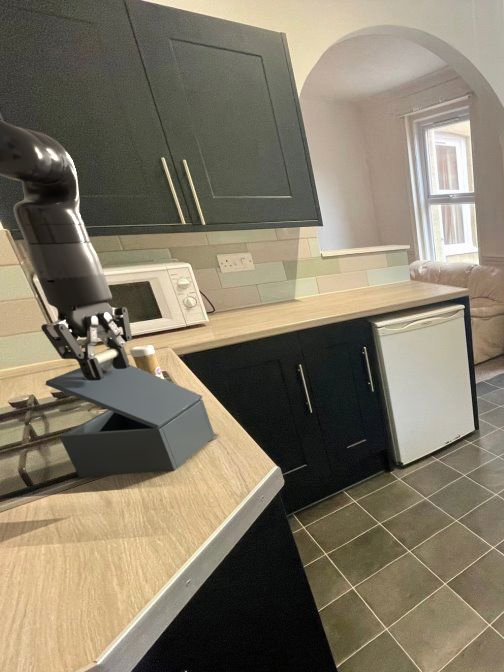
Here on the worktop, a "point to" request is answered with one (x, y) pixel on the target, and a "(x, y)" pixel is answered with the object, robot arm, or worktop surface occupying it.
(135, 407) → the lid
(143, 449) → the storage box
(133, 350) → the sprinkles bottle
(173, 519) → the worktop surface
